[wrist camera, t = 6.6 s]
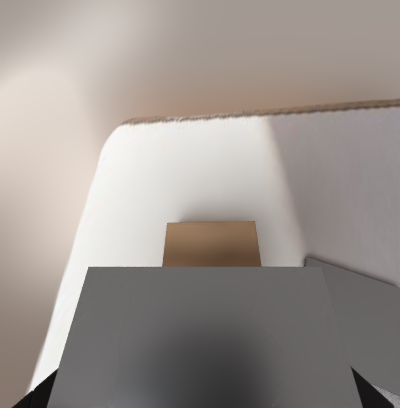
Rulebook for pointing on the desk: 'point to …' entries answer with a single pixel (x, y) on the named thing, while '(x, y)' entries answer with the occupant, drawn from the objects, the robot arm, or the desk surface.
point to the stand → (211, 245)
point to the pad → (366, 323)
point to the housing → (204, 341)
